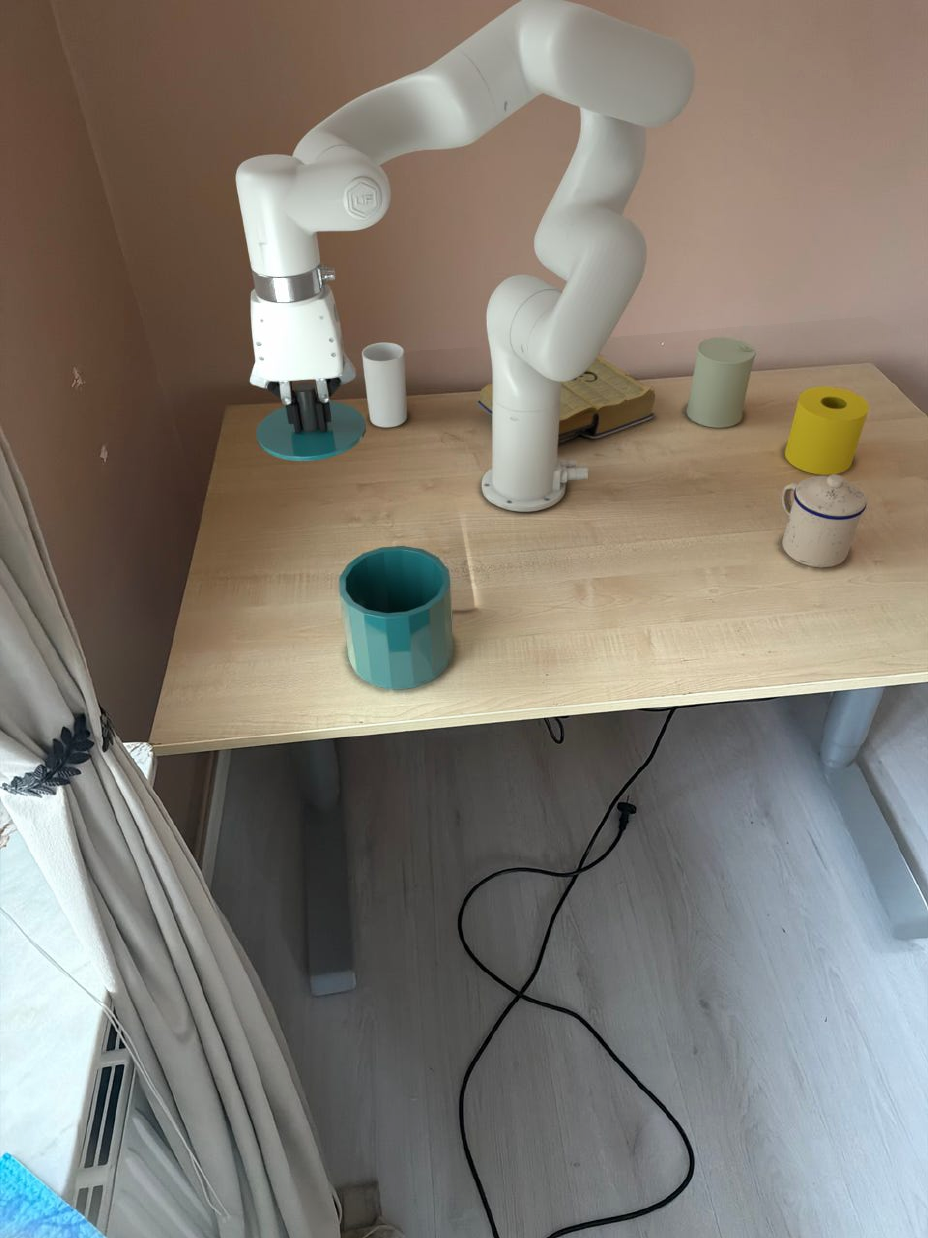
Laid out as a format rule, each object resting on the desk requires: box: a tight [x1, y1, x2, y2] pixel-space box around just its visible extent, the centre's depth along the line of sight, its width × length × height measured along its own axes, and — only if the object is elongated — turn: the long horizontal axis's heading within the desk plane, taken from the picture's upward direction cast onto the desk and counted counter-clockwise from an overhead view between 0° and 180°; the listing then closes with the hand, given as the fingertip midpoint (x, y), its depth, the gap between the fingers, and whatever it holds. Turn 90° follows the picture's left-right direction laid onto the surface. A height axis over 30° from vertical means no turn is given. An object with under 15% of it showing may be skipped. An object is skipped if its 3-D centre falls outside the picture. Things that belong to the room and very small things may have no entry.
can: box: [685, 336, 756, 429], centre depth 147 cm, size 9×9×12 cm
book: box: [476, 354, 656, 444], centre depth 148 cm, size 25×17×6 cm
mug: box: [361, 341, 408, 428], centre depth 148 cm, size 10×7×12 cm, turn 21°
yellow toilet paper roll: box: [784, 386, 870, 476], centre depth 137 cm, size 10×10×9 cm
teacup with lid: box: [781, 474, 868, 568], centre depth 120 cm, size 12×9×12 cm
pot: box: [338, 545, 454, 690], centre depth 106 cm, size 13×13×12 cm
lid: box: [255, 382, 367, 462], centre depth 110 cm, size 14×14×7 cm
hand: (310, 425), depth 112 cm, fingers closed on lid, 2 cm apart
